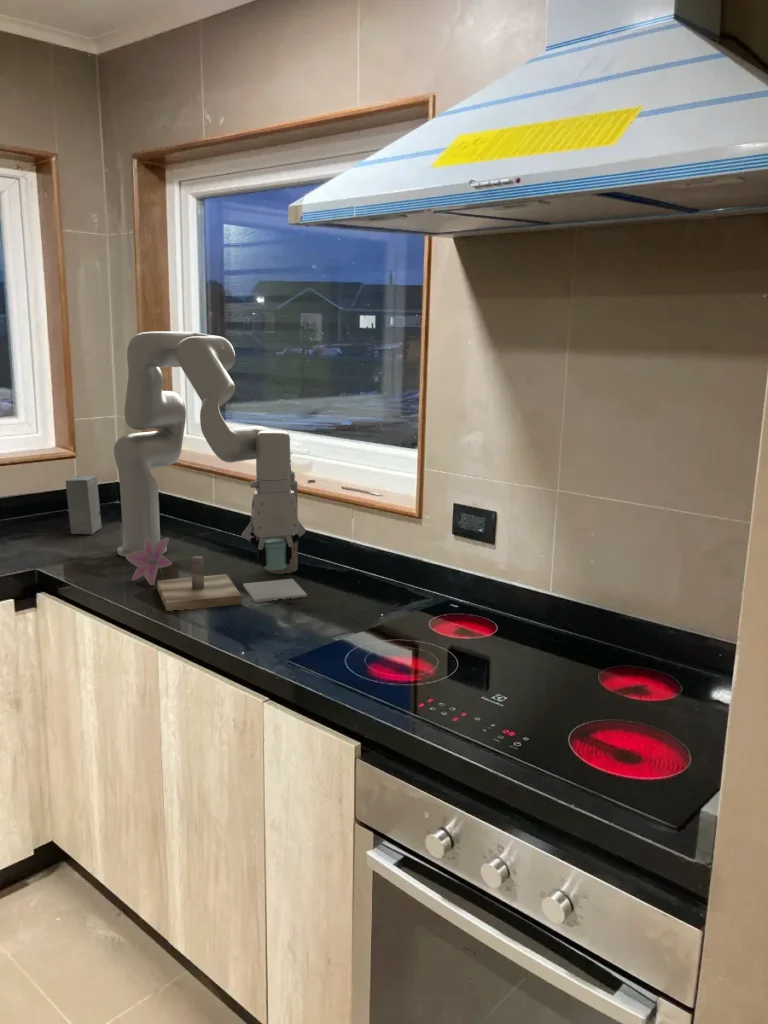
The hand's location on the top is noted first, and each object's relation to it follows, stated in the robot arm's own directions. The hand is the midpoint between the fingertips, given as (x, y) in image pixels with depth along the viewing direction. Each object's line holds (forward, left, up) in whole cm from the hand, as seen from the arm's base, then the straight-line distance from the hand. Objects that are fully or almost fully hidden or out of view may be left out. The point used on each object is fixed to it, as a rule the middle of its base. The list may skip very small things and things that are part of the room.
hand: (274, 563), depth 188 cm
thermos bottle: (-16, +6, -7) cm, 19 cm away
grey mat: (0, 0, -7) cm, 7 cm away
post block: (-2, -17, -7) cm, 18 cm away
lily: (-19, -26, -7) cm, 32 cm away
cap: (0, 0, -1) cm, 1 cm away
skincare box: (-69, -38, -7) cm, 79 cm away
